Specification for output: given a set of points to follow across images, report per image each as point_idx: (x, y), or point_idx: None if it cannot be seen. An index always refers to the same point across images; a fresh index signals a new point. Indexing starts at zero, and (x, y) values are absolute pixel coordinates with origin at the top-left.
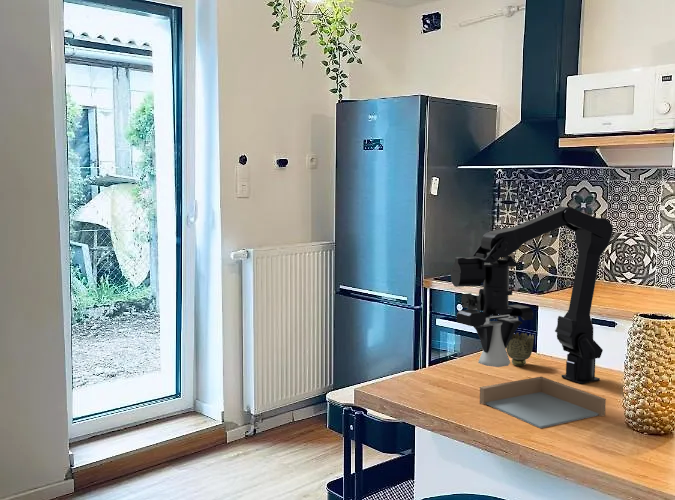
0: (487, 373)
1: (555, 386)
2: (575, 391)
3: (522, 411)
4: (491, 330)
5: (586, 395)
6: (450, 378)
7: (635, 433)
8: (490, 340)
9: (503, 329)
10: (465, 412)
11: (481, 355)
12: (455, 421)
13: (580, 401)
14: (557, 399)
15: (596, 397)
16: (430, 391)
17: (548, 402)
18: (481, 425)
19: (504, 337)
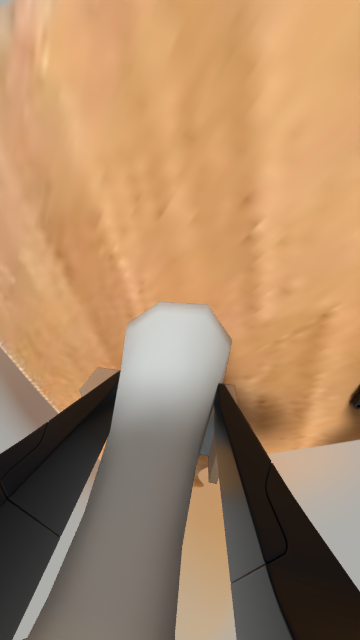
0: (264, 216)
1: None
2: (214, 460)
3: None
4: (29, 576)
5: (211, 469)
6: (116, 204)
7: (194, 475)
8: (92, 461)
9: (245, 559)
10: (62, 378)
11: (125, 346)
12: (40, 389)
13: (212, 449)
14: (212, 419)
15: (210, 478)
16: (30, 278)
17: None
18: (65, 407)
19: (224, 470)
